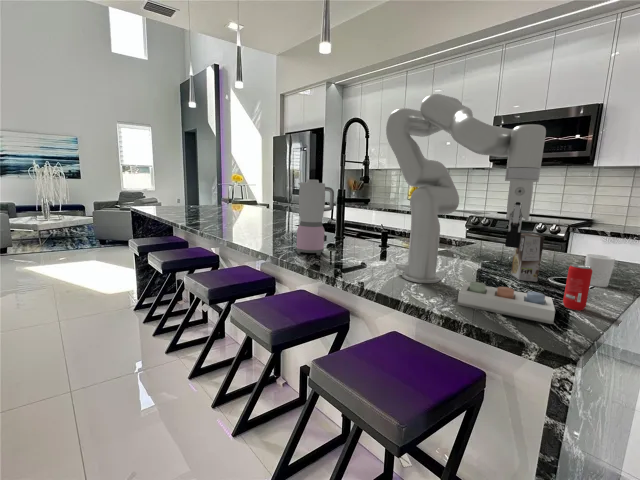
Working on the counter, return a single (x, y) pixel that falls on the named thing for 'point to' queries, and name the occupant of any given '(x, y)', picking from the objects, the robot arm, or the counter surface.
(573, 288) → the beverage can
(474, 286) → the button sage
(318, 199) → the blender
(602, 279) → the white cup
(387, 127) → the robot arm
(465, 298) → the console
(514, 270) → the coffee box
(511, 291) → the button terracotta
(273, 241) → the counter surface
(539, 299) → the button slate
